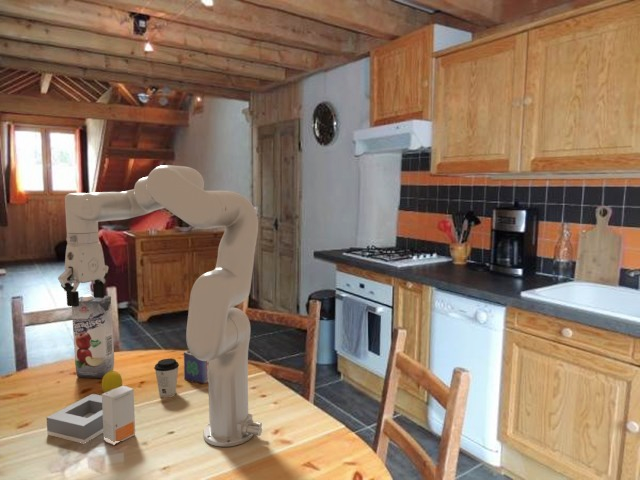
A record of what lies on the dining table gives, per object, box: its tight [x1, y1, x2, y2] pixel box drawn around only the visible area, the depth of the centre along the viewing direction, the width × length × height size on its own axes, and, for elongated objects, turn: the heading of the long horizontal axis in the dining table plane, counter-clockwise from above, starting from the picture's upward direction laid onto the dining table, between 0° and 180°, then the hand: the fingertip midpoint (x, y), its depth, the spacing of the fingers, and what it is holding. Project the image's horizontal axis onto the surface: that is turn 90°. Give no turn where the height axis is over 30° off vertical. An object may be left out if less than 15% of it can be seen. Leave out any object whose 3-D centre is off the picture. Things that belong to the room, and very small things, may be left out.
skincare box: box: [101, 384, 136, 442], centre depth 111 cm, size 6×4×12 cm
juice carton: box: [71, 293, 115, 379], centre depth 149 cm, size 9×10×27 cm
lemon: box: [101, 369, 123, 393], centre depth 134 cm, size 6×6×8 cm
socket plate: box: [45, 393, 103, 444], centre depth 117 cm, size 12×14×4 cm
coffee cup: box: [153, 358, 180, 398], centre depth 135 cm, size 7×7×10 cm
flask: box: [183, 350, 208, 385], centre depth 145 cm, size 9×3×11 cm, turn 61°
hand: (86, 301), depth 125 cm, fingers open, 9 cm apart
